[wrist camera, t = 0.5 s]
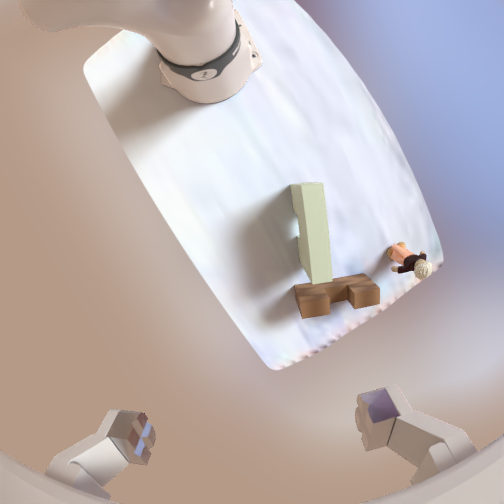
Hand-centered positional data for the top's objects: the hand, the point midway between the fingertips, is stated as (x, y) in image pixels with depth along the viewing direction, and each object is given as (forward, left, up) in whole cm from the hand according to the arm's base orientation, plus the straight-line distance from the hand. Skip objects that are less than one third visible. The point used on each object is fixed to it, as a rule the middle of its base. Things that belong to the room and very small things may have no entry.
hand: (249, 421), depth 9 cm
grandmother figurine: (+8, +27, -42) cm, 51 cm away
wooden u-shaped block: (+13, +13, -42) cm, 46 cm away
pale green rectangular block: (0, +9, -42) cm, 43 cm away
